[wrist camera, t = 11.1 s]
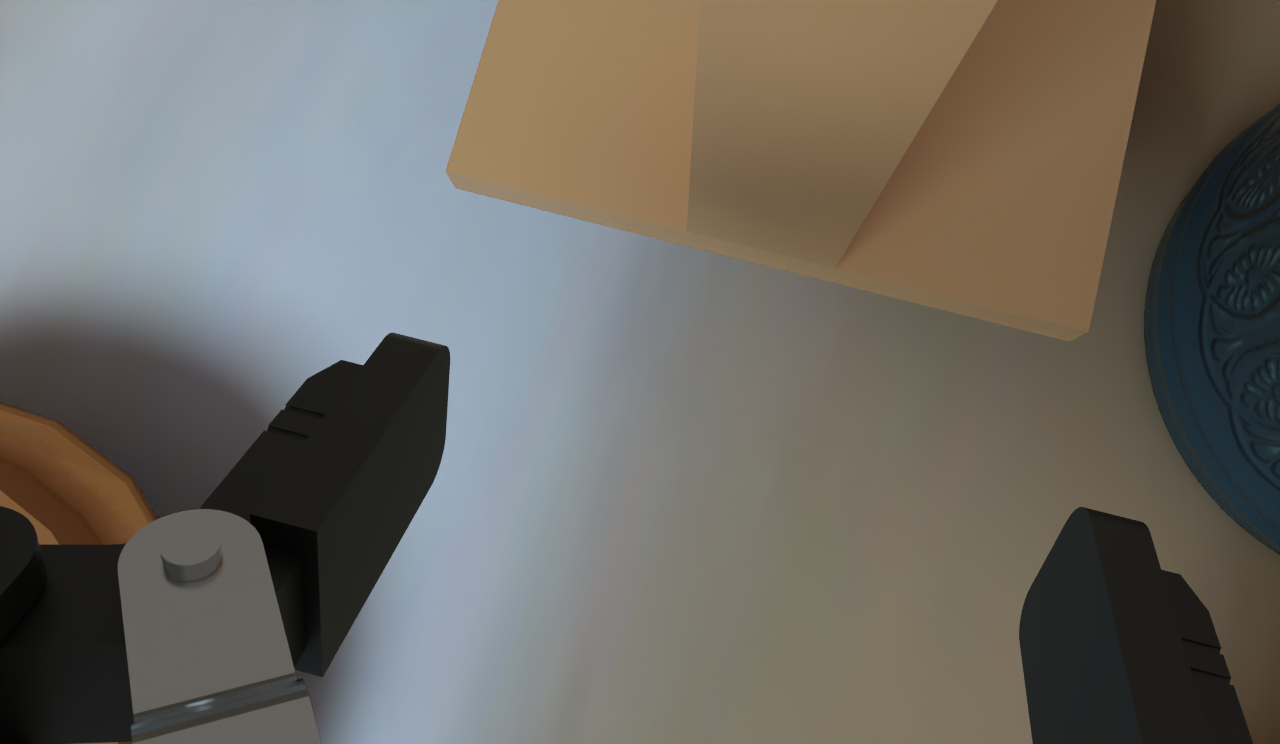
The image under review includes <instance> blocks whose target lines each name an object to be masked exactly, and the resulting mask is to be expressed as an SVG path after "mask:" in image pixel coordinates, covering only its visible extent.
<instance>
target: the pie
mask: <svg viewBox="0 0 1280 744" xmlns="http://www.w3.org/2000/svg"><path fill="white" fill-rule="evenodd" d="M0 506H2V507H6V508H9V509H13V510H15V511H17V512H19V513H21V514H22V515H24V516H25V517H26V518H27V519H29V521H30V522H31V523H32V525H33V526H34V528H35V531H36V533H37V537H38V541H39V544H53V545H110V544H124V543H127V542H128V541H129V540H130V538H131V537H132V536H133V535H135V534H136V533H137V532H138V531H139V530H140V529H142V528H143V527H145V526H146V525H148V524H149V523H151V522H153V521H155V520H157V518H156V516H155V514H154V513H153V511H152V509H151V507H150V506H149V504H148V502H147V501H146V499H145V497H144V495H143V494H142V492H141V490H140V489H139V487H138V485H137V484H136V482H135V480H134V479H133V478H132V477H131V476H129V475H128V474H127V473H126V472H124V471H123V470H122V469H120V468H119V467H118V466H116V465H115V464H114V463H112V462H111V461H110V460H109V459H107V458H106V457H105V456H103V455H102V454H101V453H99V452H98V451H97V450H96V449H94V448H93V447H92V446H90V445H89V444H88V443H86V442H85V441H84V440H82V439H81V438H80V437H79V436H77V435H76V434H75V433H73V432H72V431H71V430H69V429H68V428H67V427H66V426H64V425H63V424H62V423H60V422H59V421H56V420H53V419H50V418H47V417H44V416H41V415H37V414H34V413H31V412H28V411H25V410H22V409H19V408H16V407H13V406H10V405H7V404H4V403H1V402H0ZM80 744H132V742H110V743H80Z"/></svg>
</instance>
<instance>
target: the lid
mask: <svg viewBox="0 0 1280 744" xmlns="http://www.w3.org/2000/svg"><path fill="white" fill-rule="evenodd" d="M1155 5H1156V0H499V1H498V4H497V7H496V11H495V14H494V17H493V20H492V24H491V27H490V30H489V33H488V36H487V40H486V43H485V46H484V49H483V53H482V56H481V59H480V62H479V65H478V69H477V72H476V75H475V78H474V82H473V85H472V88H471V91H470V94H469V98H468V101H467V104H466V107H465V111H464V114H463V117H462V120H461V123H460V127H459V130H458V133H457V136H456V140H455V143H454V146H453V149H452V152H451V156H450V159H449V162H448V165H447V169H446V173H447V174H448V176H449V178H450V180H451V181H452V183H453V185H454V186H455V188H457V189H461V190H465V191H469V192H473V193H477V194H481V195H485V196H489V197H493V198H497V199H501V200H505V201H509V202H513V203H517V204H521V205H525V206H529V207H533V208H537V209H541V210H545V211H549V212H553V213H557V214H561V215H565V216H569V217H573V218H577V219H581V220H585V221H589V222H593V223H597V224H601V225H605V226H609V227H613V228H617V229H621V230H625V231H629V232H632V233H636V234H640V235H644V236H648V237H652V238H656V239H660V240H664V241H668V242H672V243H676V244H680V245H684V246H688V247H692V248H696V249H700V250H704V251H708V252H712V253H716V254H720V255H724V256H728V257H732V258H736V259H740V260H744V261H748V262H752V263H756V264H760V265H764V266H768V267H772V268H776V269H780V270H784V271H788V272H792V273H796V274H800V275H804V276H808V277H812V278H816V279H820V280H824V281H828V282H832V283H836V284H840V285H844V286H848V287H852V288H856V289H860V290H864V291H868V292H872V293H876V294H880V295H884V296H888V297H892V298H896V299H900V300H904V301H908V302H912V303H916V304H920V305H924V306H928V307H932V308H936V309H940V310H944V311H948V312H952V313H956V314H960V315H964V316H968V317H972V318H976V319H980V320H984V321H988V322H992V323H996V324H1000V325H1004V326H1008V327H1012V328H1016V329H1020V330H1024V331H1028V332H1032V333H1036V334H1040V335H1044V336H1048V337H1052V338H1056V339H1060V340H1064V341H1068V342H1070V341H1072V340H1074V339H1076V338H1078V337H1080V336H1082V335H1084V334H1086V333H1088V332H1089V329H1090V325H1091V320H1092V315H1093V310H1094V305H1095V300H1096V295H1097V290H1098V285H1099V280H1100V275H1101V270H1102V265H1103V261H1104V256H1105V251H1106V246H1107V241H1108V236H1109V231H1110V226H1111V221H1112V216H1113V211H1114V206H1115V202H1116V197H1117V192H1118V187H1119V182H1120V177H1121V172H1122V167H1123V162H1124V157H1125V152H1126V147H1127V142H1128V138H1129V133H1130V128H1131V123H1132V118H1133V113H1134V108H1135V103H1136V98H1137V93H1138V88H1139V83H1140V78H1141V74H1142V69H1143V64H1144V59H1145V54H1146V49H1147V44H1148V39H1149V34H1150V29H1151V24H1152V19H1153V15H1154V10H1155Z"/></svg>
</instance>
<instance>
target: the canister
mask: <svg viewBox="0 0 1280 744" xmlns="http://www.w3.org/2000/svg"><path fill="white" fill-rule="evenodd" d="M1144 337H1145V349H1146V358H1147V364H1148V370H1149V375H1150V379H1151V383H1152V388H1153V392H1154V395H1155V398H1156V401H1157V404H1158V407H1159V410H1160V413H1161V415H1162V417H1163V420H1164V422H1165V425H1166V427H1167V429H1168V431H1169V433H1170V435H1171V437H1172V439H1173V441H1174V443H1175V445H1176V447H1177V449H1178V451H1179V452H1180V454H1181V456H1182V457H1183V459H1184V461H1185V462H1186V464H1187V466H1188V467H1189V468H1190V470H1191V471H1192V473H1193V474H1194V476H1195V477H1196V478H1197V480H1198V481H1199V483H1200V484H1201V485H1202V486H1203V487H1204V489H1205V490H1206V491H1207V492H1208V494H1209V495H1210V496H1211V497H1212V498H1213V499H1214V500H1215V502H1216V503H1217V504H1218V505H1219V506H1220V507H1221V508H1222V509H1223V510H1224V511H1225V512H1226V513H1227V514H1228V515H1229V516H1230V517H1231V518H1232V519H1233V520H1235V521H1236V522H1237V523H1238V524H1239V525H1240V526H1241V527H1242V528H1243V529H1245V530H1246V531H1247V532H1248V533H1250V534H1251V535H1252V536H1254V537H1255V538H1256V539H1257V540H1259V541H1260V542H1261V543H1263V544H1264V545H1266V546H1267V547H1269V548H1270V549H1272V550H1273V551H1275V552H1276V553H1278V554H1279V555H1280V104H1279V105H1277V106H1276V107H1275V108H1273V109H1272V110H1271V111H1269V112H1268V113H1267V114H1265V115H1264V116H1262V117H1261V118H1260V119H1259V120H1257V121H1256V122H1255V123H1253V124H1252V125H1251V126H1249V127H1248V128H1246V129H1245V130H1244V131H1243V132H1241V133H1240V134H1239V135H1238V136H1237V137H1236V138H1235V139H1233V140H1232V141H1231V142H1230V143H1229V144H1228V145H1227V146H1226V147H1225V148H1224V149H1223V150H1222V151H1221V152H1220V153H1219V154H1218V155H1217V156H1216V157H1215V158H1214V160H1213V161H1212V162H1211V163H1210V164H1209V166H1208V167H1207V168H1206V169H1205V171H1204V172H1203V173H1202V174H1201V176H1200V177H1199V179H1198V180H1197V182H1196V183H1195V185H1194V186H1193V188H1192V189H1191V190H1190V192H1189V194H1188V195H1187V196H1186V197H1185V199H1184V200H1183V202H1182V203H1181V205H1180V206H1179V208H1178V209H1177V211H1176V212H1175V214H1174V216H1173V218H1172V219H1171V221H1170V223H1169V225H1168V226H1167V229H1166V231H1165V233H1164V235H1163V237H1162V240H1161V242H1160V244H1159V247H1158V250H1157V253H1156V255H1155V258H1154V261H1153V265H1152V269H1151V273H1150V277H1149V282H1148V288H1147V294H1146V302H1145V314H1144Z"/></svg>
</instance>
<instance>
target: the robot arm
mask: <svg viewBox="0 0 1280 744" xmlns="http://www.w3.org/2000/svg"><path fill="white" fill-rule="evenodd" d="M449 370H450V352H449V349H448V347H447V346H444V345H440V344H436V343H432V342H428V341H424V340H420V339H416V338H412V337H408V336H404V335H400V334H396V333H389V334H388V335H387V336H386V337H385V338H384V339H383V340H382V342H381V343H380V344H379V346H378V347H377V348H376V350H375V351H374V352H373V354H372V355H371V356H370V357H369V359H368V360H367V361H366V363H365V364H364V365H359V364H355V363H351V362H347V361H343V360H341V361H339V362H337V363H335V364H333V365H331V366H330V367H328V368H326V369H324V370H322V371H321V372H319V373H317V374H315V375H313V376H311V377H310V378H308V379H307V380H306V381H305V382H304V383H303V385H302V386H301V387H300V388H299V389H298V391H297V392H296V393H295V394H294V395H293V397H292V398H291V399H290V400H289V401H288V403H287V404H286V407H285V410H281V411H280V412H279V413H278V415H277V416H276V417H275V418H274V420H273V421H272V422H271V423H270V424H269V427H268V430H267V431H264V432H263V433H262V434H261V435H260V436H259V438H258V439H257V440H256V441H255V442H254V444H253V445H252V446H251V447H250V448H249V450H248V451H247V452H246V453H245V454H244V456H243V457H242V458H241V459H240V461H239V462H238V463H237V464H236V465H235V467H234V468H233V469H232V470H231V471H230V473H229V474H228V475H227V476H226V477H225V479H224V480H223V481H222V482H221V483H220V485H219V486H218V487H217V488H216V489H215V491H214V492H213V493H212V494H211V496H210V497H209V498H208V499H207V500H206V502H205V503H204V504H203V505H202V506H201V507H200V508H199V509H194V510H186V511H181V512H177V513H173V514H170V515H167V516H164V517H161V518H159V519H157V520H155V521H153V522H151V523H149V524H148V525H146V526H145V527H143V528H142V529H140V530H139V531H138V532H137V533H136V534H135V535H133V536H132V537H131V538H130V540H129V541H128V542H127V543H124V544H110V545H53V544H39V541H38V537H37V533H36V531H35V528H34V526H33V525H32V523H31V522H30V521H29V519H27V518H26V517H25V516H24V515H22V514H21V513H19V512H17V511H15V510H13V509H9V508H6V507H2V506H0V744H80V743H110V742H132V744H321V740H320V736H319V732H318V728H317V725H316V721H315V717H314V713H313V709H312V705H311V701H310V698H309V694H308V691H307V688H306V685H305V683H304V681H303V679H299V680H298V679H297V676H296V673H295V670H299V671H302V672H306V673H309V674H313V675H316V676H320V677H323V676H324V674H325V672H326V670H327V668H328V667H329V665H330V663H331V661H332V660H333V658H334V656H335V654H336V653H337V651H338V649H339V647H340V646H341V644H342V642H343V640H344V639H345V637H346V635H347V633H348V631H349V630H350V628H351V626H352V624H353V623H354V621H355V619H356V617H357V616H358V614H359V612H360V610H361V609H362V607H363V605H364V603H365V602H366V600H367V598H368V596H369V595H370V593H371V591H372V589H373V587H374V586H375V584H376V582H377V580H378V579H379V577H380V575H381V573H382V572H383V570H384V568H385V566H386V565H387V563H388V561H389V559H390V558H391V556H392V554H393V552H394V550H395V549H396V547H397V545H398V543H399V542H400V540H401V538H402V536H403V535H404V533H405V531H406V529H407V528H408V526H409V524H410V522H411V521H412V519H413V517H414V515H415V514H416V512H417V510H418V508H419V506H420V505H421V503H422V501H423V499H424V498H425V496H426V494H427V492H428V491H429V489H430V487H431V485H432V483H433V481H434V479H435V477H436V474H437V472H438V469H439V466H440V462H441V459H442V455H443V450H444V445H445V437H446V421H447V404H448V387H449ZM1019 639H1020V648H1021V656H1022V664H1023V671H1024V679H1025V687H1026V694H1027V702H1028V710H1029V717H1030V725H1031V733H1032V741H1033V744H1253V742H1252V739H1251V736H1250V733H1249V730H1248V727H1247V724H1246V721H1245V718H1244V715H1243V712H1242V709H1241V706H1240V703H1239V700H1238V697H1237V695H1236V692H1235V689H1234V686H1233V685H1230V679H1231V677H1230V674H1229V671H1228V668H1227V665H1226V662H1225V659H1224V656H1223V655H1221V654H1220V649H1221V647H1220V644H1219V641H1218V638H1217V635H1216V632H1215V629H1214V626H1213V623H1212V620H1211V617H1210V614H1209V611H1208V610H1207V609H1206V607H1205V606H1204V605H1203V603H1202V602H1201V601H1200V599H1199V598H1198V597H1197V596H1196V594H1195V593H1194V592H1193V590H1192V589H1191V588H1190V587H1189V585H1188V584H1187V583H1186V581H1185V580H1184V579H1183V577H1182V576H1181V575H1180V574H1176V573H1172V572H1168V571H1164V570H1161V568H1160V564H1159V561H1158V558H1157V554H1156V551H1155V548H1154V544H1153V541H1152V538H1151V534H1150V531H1149V529H1148V527H1147V526H1146V524H1144V523H1143V522H1140V521H1136V520H1132V519H1128V518H1124V517H1120V516H1116V515H1112V514H1108V513H1104V512H1100V511H1096V510H1092V509H1088V508H1084V507H1079V508H1077V509H1076V510H1075V511H1074V512H1073V513H1072V514H1071V515H1070V517H1069V518H1068V520H1067V522H1066V524H1065V525H1064V527H1063V529H1062V531H1061V533H1060V534H1059V536H1058V538H1057V540H1056V542H1055V544H1054V545H1053V547H1052V549H1051V551H1050V553H1049V554H1048V556H1047V558H1046V560H1045V562H1044V564H1043V565H1042V567H1041V569H1040V571H1039V573H1038V575H1037V576H1036V578H1035V580H1034V582H1033V584H1032V585H1031V587H1030V589H1029V591H1028V593H1027V596H1026V599H1025V602H1024V605H1023V609H1022V613H1021V619H1020V629H1019Z"/></svg>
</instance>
